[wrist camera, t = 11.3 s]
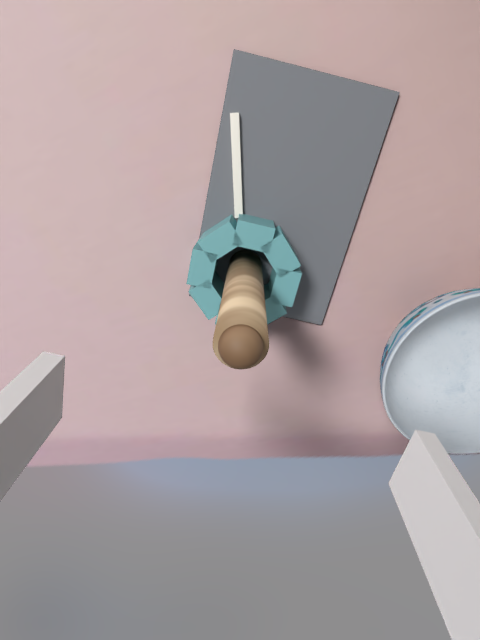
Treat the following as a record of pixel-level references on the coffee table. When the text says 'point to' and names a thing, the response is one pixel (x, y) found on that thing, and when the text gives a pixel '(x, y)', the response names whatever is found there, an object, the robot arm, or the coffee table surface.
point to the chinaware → (436, 371)
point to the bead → (249, 236)
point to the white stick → (236, 163)
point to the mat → (299, 164)
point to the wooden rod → (242, 314)
